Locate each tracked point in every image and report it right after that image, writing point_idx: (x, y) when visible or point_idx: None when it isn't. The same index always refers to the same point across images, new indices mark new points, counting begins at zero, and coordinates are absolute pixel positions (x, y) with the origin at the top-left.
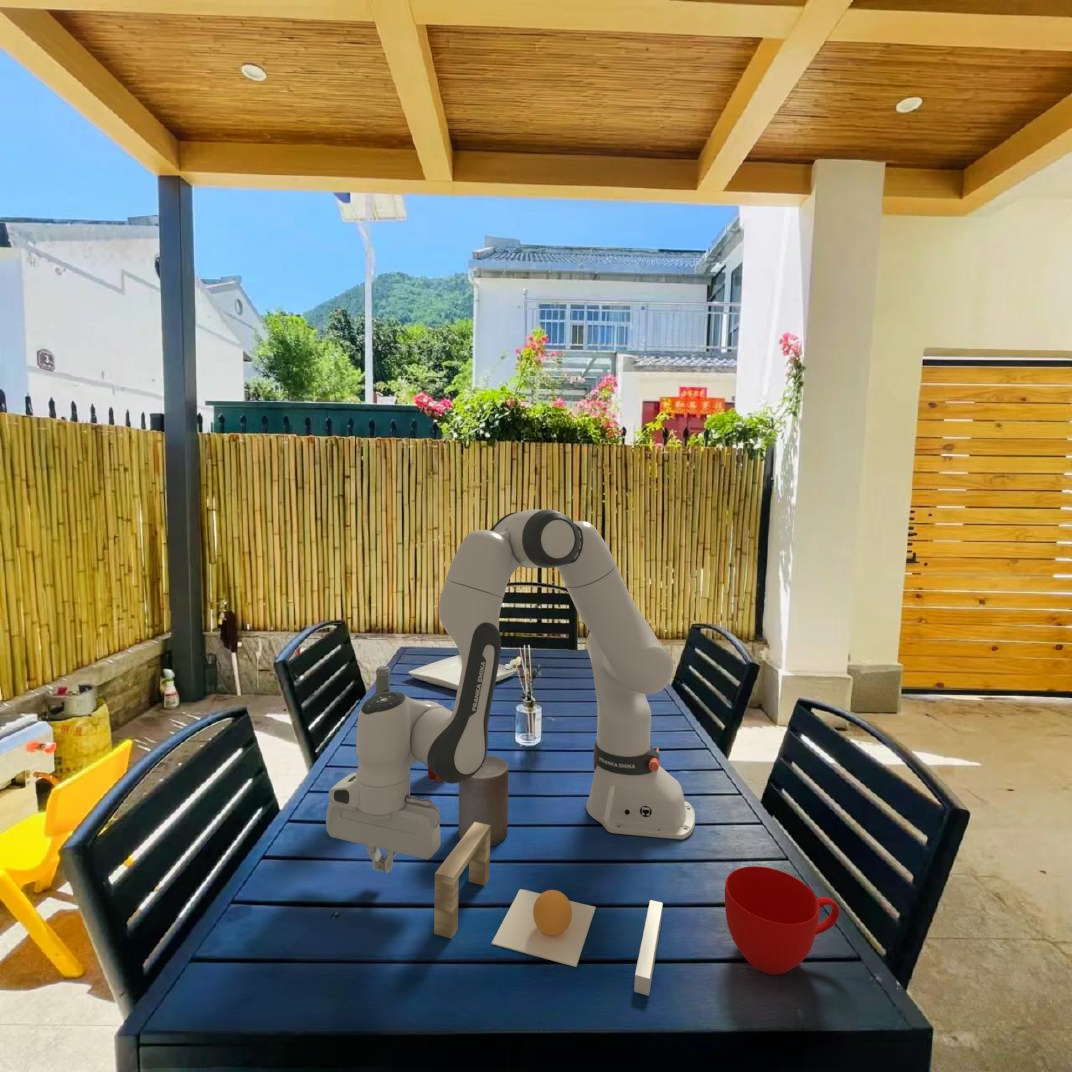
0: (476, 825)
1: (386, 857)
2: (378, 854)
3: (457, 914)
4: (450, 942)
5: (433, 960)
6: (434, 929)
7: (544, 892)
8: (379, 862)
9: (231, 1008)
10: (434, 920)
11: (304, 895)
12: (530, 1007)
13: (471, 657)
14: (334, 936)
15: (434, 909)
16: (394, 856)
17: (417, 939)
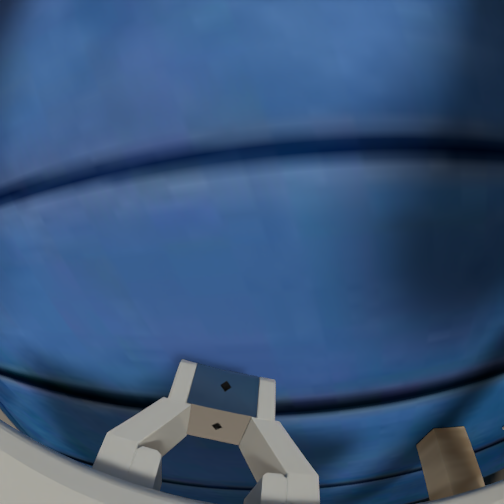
0: None
1: (231, 416)
2: (178, 425)
3: (473, 456)
4: None
5: (404, 472)
6: (419, 453)
7: None
8: (209, 436)
9: None
10: (423, 470)
11: (42, 365)
12: (494, 465)
13: None
14: (195, 463)
15: (428, 493)
16: (286, 437)
17: (380, 458)
